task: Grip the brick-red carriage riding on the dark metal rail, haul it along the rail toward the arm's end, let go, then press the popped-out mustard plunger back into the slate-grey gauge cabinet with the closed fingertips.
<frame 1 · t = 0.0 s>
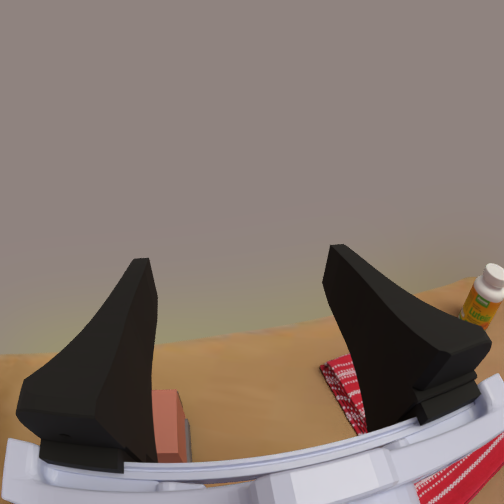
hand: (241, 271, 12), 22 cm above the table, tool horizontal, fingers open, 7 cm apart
supplement bottle: (471, 324, 38), on the table
carriage: (160, 435, 23), point 3 cm above the table, slide at 4.0 cm
dish towel: (425, 419, 27), on the table
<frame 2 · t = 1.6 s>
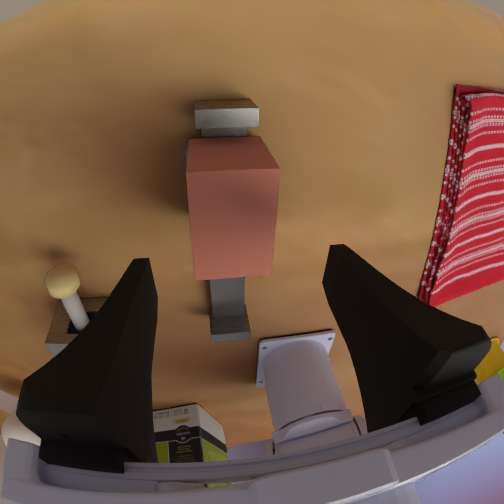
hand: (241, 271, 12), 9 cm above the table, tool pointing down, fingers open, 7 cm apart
lightbulb: (32, 385, 32), on the table
stacking cups: (479, 352, 48), on the table
tea box: (166, 420, 41), on the table
cabinet: (98, 321, 26), on the table
carriage: (227, 199, 17), point 3 cm above the table, slide at 4.0 cm
plunger: (71, 301, 21), point 3 cm above the table, slide at 2.5 cm
dish towel: (489, 197, 25), on the table
rail: (224, 227, 22), on the table
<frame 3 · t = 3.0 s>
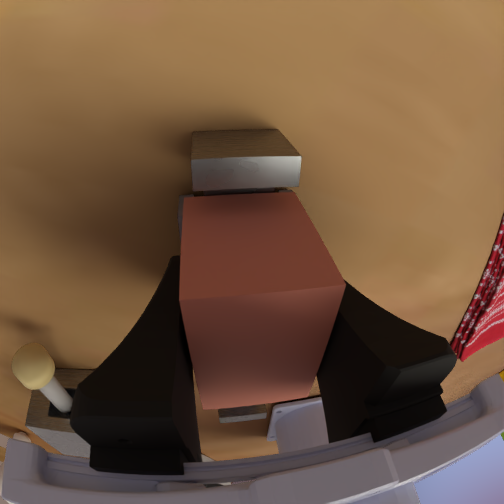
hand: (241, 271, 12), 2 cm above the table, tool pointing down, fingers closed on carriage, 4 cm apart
lightbulb: (23, 431, 27), on the table
cabinet: (85, 389, 20), on the table
carriage: (246, 292, 12), point 3 cm above the table, slide at 4.0 cm, touching gripper
plunger: (48, 384, 15), point 3 cm above the table, slide at 2.5 cm
rail: (236, 303, 17), on the table
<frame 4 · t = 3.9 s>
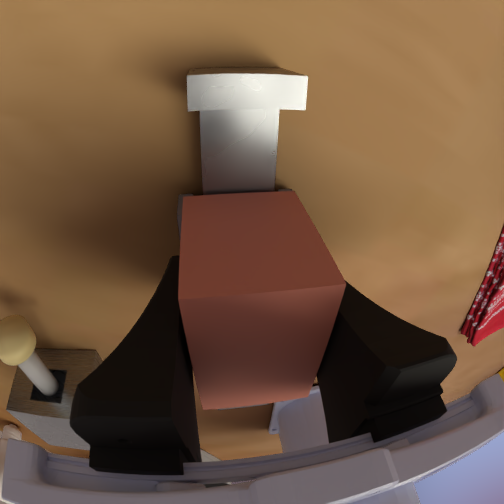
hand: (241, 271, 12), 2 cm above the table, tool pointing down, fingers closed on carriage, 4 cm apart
lightbulb: (14, 423, 25), on the table
cabinet: (73, 373, 19), on the table
carriage: (245, 292, 11), point 3 cm above the table, slide at 1.6 cm, touching gripper
plunger: (30, 363, 13), point 3 cm above the table, slide at 2.5 cm
rail: (235, 268, 15), on the table
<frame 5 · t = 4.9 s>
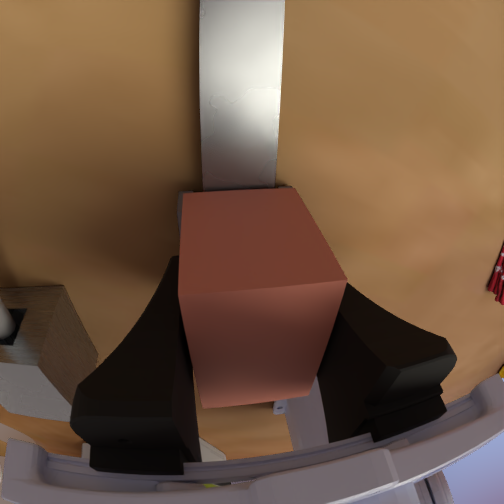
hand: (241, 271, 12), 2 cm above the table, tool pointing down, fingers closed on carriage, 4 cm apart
tea box: (154, 448, 30), on the table
cabinet: (40, 323, 15), on the table
carriage: (246, 289, 11), point 3 cm above the table, slide at -3.8 cm, touching gripper
rail: (235, 155, 12), on the table
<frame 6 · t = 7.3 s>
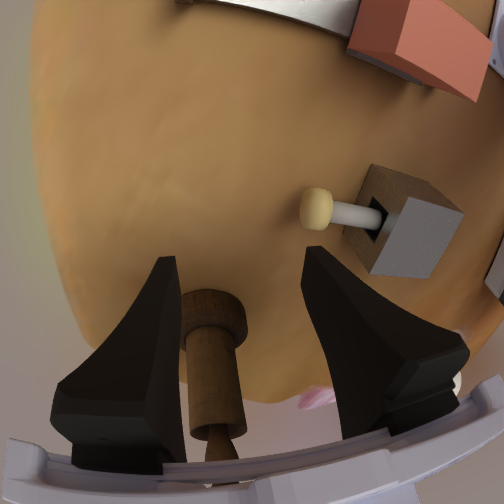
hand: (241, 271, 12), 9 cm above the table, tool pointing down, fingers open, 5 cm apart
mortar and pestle: (207, 313, 28), on the table
cabinet: (387, 206, 23), on the table
carriage: (415, 40, 13), point 3 cm above the table, slide at -3.8 cm
plunger: (344, 213, 20), point 3 cm above the table, slide at 2.5 cm
rail: (333, 14, 14), on the table
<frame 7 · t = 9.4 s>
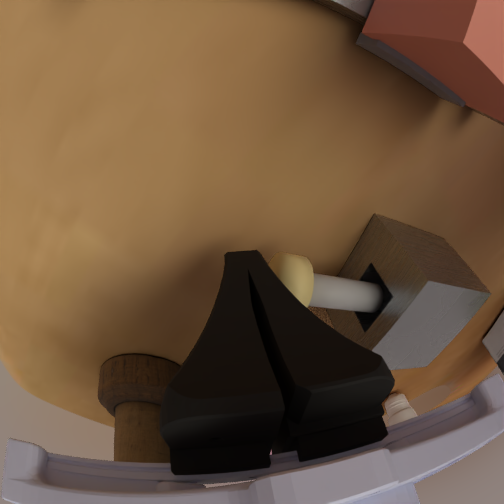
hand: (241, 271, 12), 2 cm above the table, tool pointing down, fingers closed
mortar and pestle: (145, 375, 21), on the table
lightbulb: (391, 393, 30), on the table
cabinet: (386, 268, 17), on the table
carriage: (470, 36, 7), point 3 cm above the table, slide at -3.8 cm
plunger: (329, 292, 13), point 3 cm above the table, slide at 2.4 cm, touching gripper
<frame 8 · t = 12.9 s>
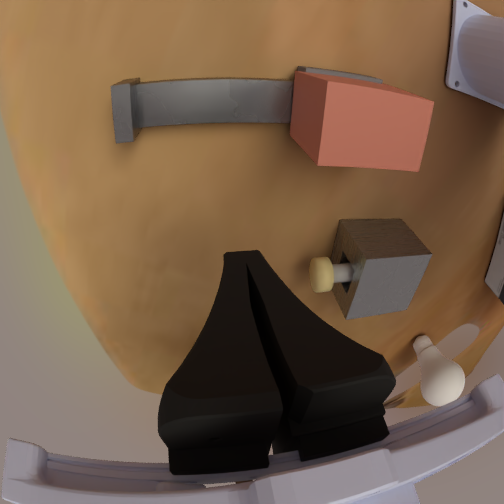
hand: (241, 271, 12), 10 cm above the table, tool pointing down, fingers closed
lightbulb: (417, 336, 38), on the table
cabinet: (363, 248, 26), on the table
carriage: (353, 114, 16), point 3 cm above the table, slide at -3.8 cm
plunger: (346, 272, 24), point 3 cm above the table, slide at 0.0 cm
rail: (273, 98, 18), on the table
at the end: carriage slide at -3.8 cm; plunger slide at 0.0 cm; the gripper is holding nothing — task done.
